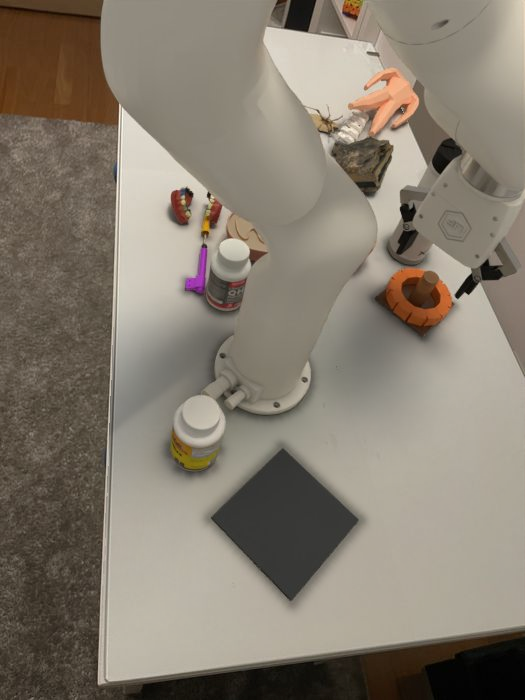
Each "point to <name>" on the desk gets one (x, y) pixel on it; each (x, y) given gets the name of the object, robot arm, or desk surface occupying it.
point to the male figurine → (388, 99)
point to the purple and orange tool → (200, 279)
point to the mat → (285, 522)
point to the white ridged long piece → (353, 126)
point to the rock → (366, 162)
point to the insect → (324, 122)
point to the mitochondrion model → (249, 236)
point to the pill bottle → (228, 275)
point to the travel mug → (432, 173)
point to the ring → (412, 312)
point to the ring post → (417, 298)
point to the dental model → (184, 198)
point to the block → (336, 148)
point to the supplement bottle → (197, 433)
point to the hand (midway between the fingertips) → (431, 270)
